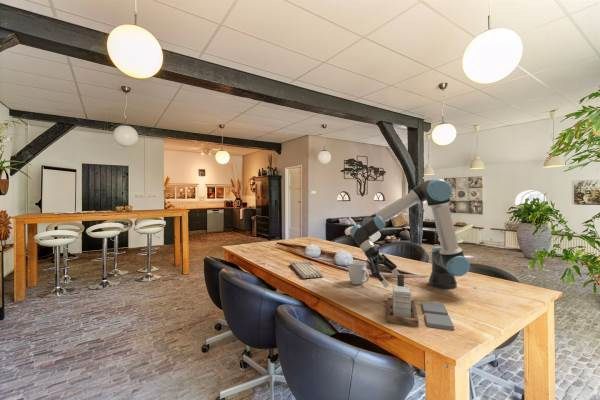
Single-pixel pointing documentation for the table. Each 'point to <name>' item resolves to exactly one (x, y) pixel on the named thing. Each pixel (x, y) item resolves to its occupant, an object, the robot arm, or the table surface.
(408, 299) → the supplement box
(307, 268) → the mechanical keyboard
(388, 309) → the brown base with post
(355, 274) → the mug
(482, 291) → the table surface
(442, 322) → the broken grey strip
